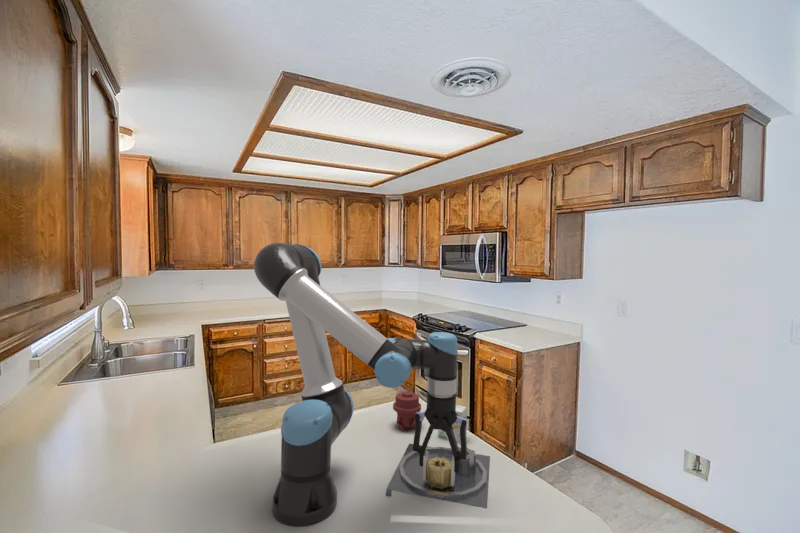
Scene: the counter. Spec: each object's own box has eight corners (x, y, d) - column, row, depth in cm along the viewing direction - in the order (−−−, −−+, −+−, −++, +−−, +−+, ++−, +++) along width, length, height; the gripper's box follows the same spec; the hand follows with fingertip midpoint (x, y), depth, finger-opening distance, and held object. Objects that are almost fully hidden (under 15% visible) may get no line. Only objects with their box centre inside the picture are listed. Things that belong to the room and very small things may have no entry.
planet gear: (453, 476, 102) (453, 459, 102) (449, 490, 95) (450, 473, 95) (428, 471, 103) (429, 455, 103) (424, 485, 97) (424, 468, 97)
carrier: (486, 514, 90) (487, 489, 90) (386, 494, 96) (386, 471, 96) (489, 461, 114) (490, 441, 114) (409, 448, 121) (409, 429, 120)
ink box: (466, 442, 126) (467, 406, 126) (461, 448, 121) (462, 412, 121) (442, 435, 130) (443, 401, 130) (436, 442, 125) (437, 406, 125)
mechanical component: (394, 420, 141) (421, 422, 140) (390, 432, 131) (419, 434, 130) (395, 387, 141) (421, 389, 140) (391, 397, 131) (420, 398, 130)
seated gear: (477, 475, 104) (478, 459, 103) (453, 474, 104) (453, 458, 103) (472, 462, 110) (473, 447, 110) (450, 462, 110) (450, 446, 110)
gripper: (480, 392, 100) (477, 479, 100) (408, 384, 105) (406, 466, 105) (478, 402, 93) (475, 496, 93) (401, 393, 98) (399, 481, 98)
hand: (438, 480), depth 99 cm, fingers closed on planet gear, 7 cm apart
